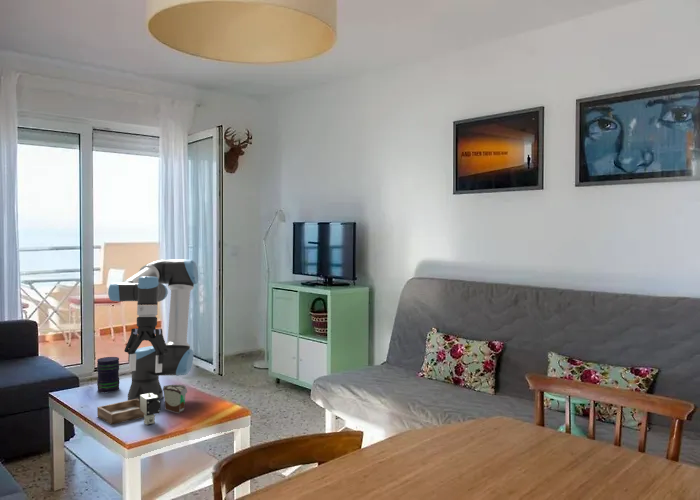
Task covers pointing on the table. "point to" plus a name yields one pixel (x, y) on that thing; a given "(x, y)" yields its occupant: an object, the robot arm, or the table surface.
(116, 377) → the storage jar
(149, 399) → the pneumatic valve
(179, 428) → the table surface
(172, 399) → the food container
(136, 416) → the walnut box
